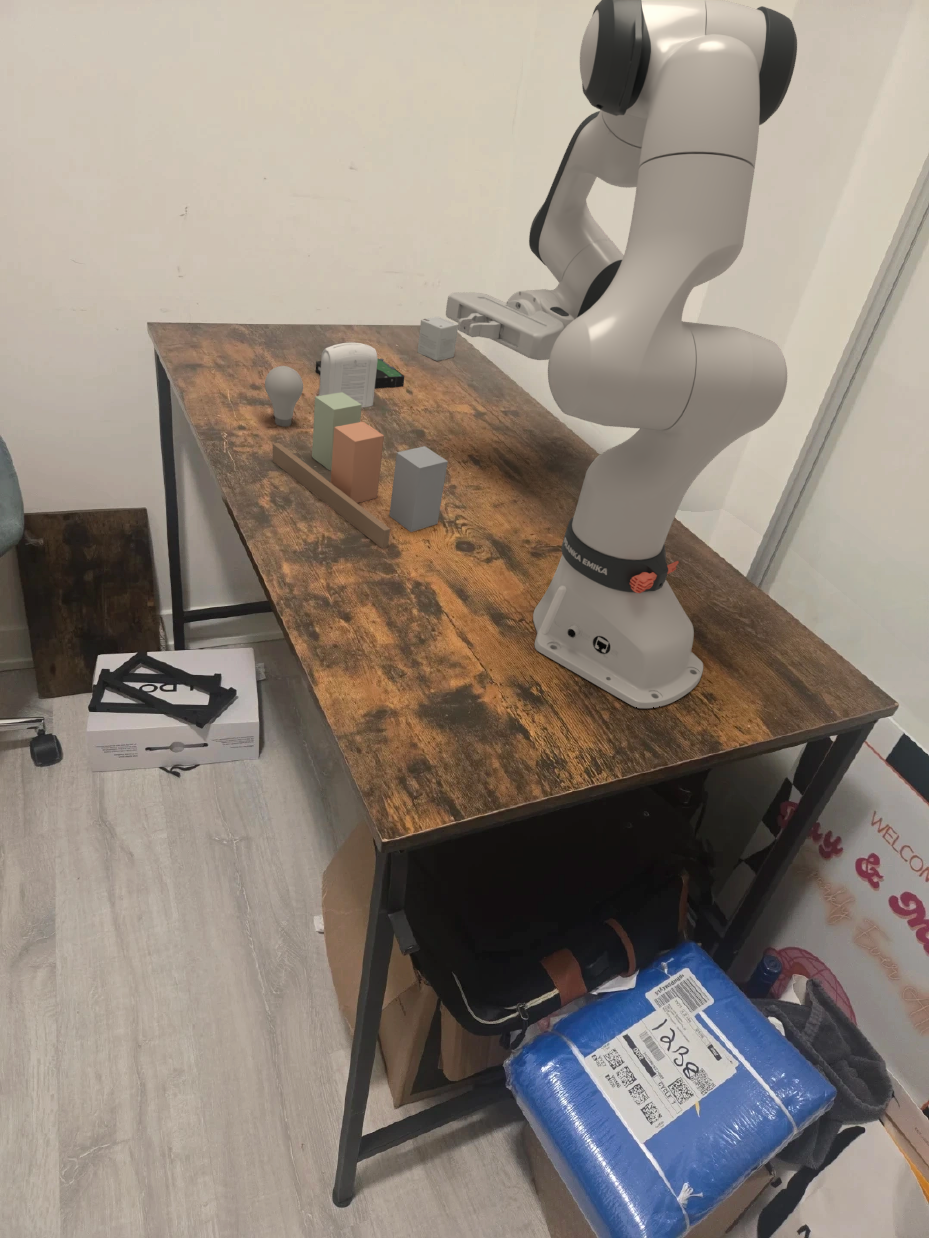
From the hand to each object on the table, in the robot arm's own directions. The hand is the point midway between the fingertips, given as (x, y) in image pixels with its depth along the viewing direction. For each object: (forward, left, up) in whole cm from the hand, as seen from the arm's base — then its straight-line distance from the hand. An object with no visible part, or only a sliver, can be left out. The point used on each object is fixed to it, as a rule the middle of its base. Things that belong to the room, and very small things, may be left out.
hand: (464, 328), depth 114 cm
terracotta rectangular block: (0, +17, -23) cm, 29 cm away
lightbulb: (+25, +14, -25) cm, 38 cm away
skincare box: (+46, -38, -25) cm, 65 cm away
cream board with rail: (0, +15, -25) cm, 28 cm away
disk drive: (+40, -13, -25) cm, 49 cm away
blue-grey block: (-10, +14, -23) cm, 29 cm away
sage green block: (+10, +14, -23) cm, 29 cm away
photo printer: (+28, -1, -25) cm, 37 cm away
